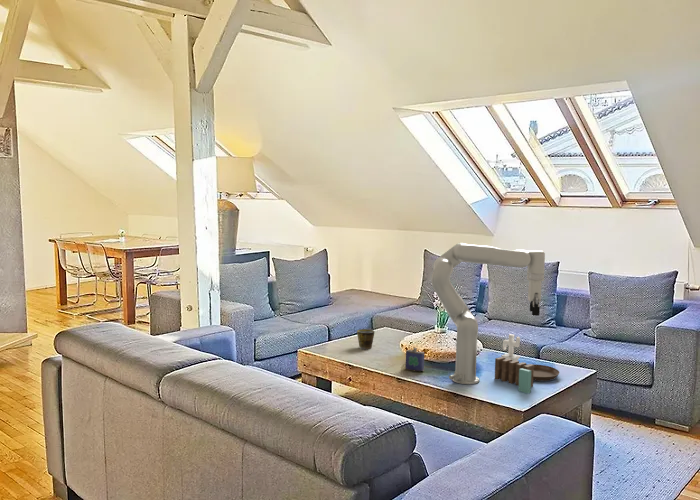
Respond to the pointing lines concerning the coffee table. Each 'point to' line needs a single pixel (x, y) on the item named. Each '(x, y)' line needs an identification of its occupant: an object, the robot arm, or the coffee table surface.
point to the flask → (414, 360)
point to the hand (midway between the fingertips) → (534, 313)
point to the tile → (524, 380)
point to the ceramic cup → (365, 338)
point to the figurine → (511, 347)
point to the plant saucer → (544, 373)
